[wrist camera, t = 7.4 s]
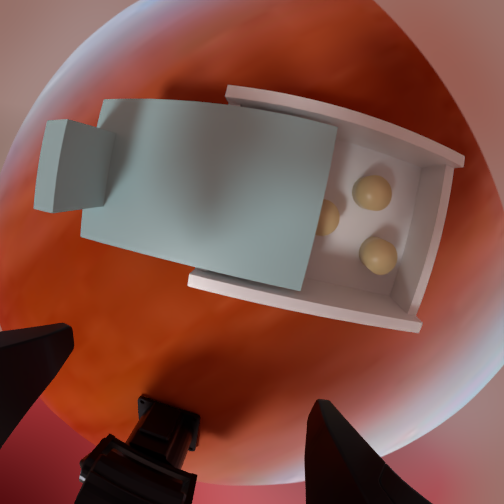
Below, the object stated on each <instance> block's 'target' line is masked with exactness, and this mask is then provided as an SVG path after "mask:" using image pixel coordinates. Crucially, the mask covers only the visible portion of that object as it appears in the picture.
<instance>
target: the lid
mask: <svg viewBox="0 0 504 504" xmlns="http://www.w3.org/2000/svg"><path fill="white" fill-rule="evenodd" d="M337 129H338V127H336V126H332V125H328V124H325V123H321V122H317V121H313V120H309V119H304V118H300V117H295V116H291V115H286V114H281V113H276V112H271V111H265V110H259V109H253V108H247V107H240V106H233V105H225V104H217V103H207V102H197V101H184V100H166V99H104V101H103V105H102V108H101V112H100V116H99V120H98V124H97V127H93V126H90V125H86V124H83V123H79V122H76V121H72V120H68V119H64V120H49V121H47V124H46V128H45V133H44V138H43V143H42V148H41V153H40V159H39V165H38V172H37V180H36V188H35V198H34V209H37V210H41V211H45V212H49V213H58V212H65V211H72V210H79V209H83V212H82V223H81V237H83V238H87V239H90V240H94V241H98V242H101V243H105V244H108V245H112V246H116V247H119V248H123V249H127V250H131V251H134V252H138V253H142V254H146V255H150V256H154V257H157V258H161V259H165V260H169V261H173V262H177V263H181V264H185V265H189V266H193V267H197V268H201V269H205V270H210V271H214V272H218V273H222V274H226V275H231V276H235V277H239V278H243V279H248V280H252V281H256V282H261V283H265V284H270V285H274V286H279V287H283V288H288V289H292V290H297V291H301V287H302V284H303V280H304V276H305V272H306V269H307V265H308V261H309V257H310V253H311V249H312V245H313V241H314V237H315V233H316V229H317V225H318V221H319V216H320V212H321V208H322V203H323V199H324V194H325V190H326V185H327V180H328V176H329V171H330V166H331V161H332V156H333V151H334V146H335V140H336V135H337Z"/></svg>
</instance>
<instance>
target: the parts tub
mask: <svg viewBox="0 0 504 504" xmlns="http://www.w3.org/2000/svg"><path fill="white" fill-rule="evenodd" d="M225 98H226V99H227V101H228V105H233V106H240V107H247V108H253V109H259V110H265V111H271V112H276V113H281V114H286V115H291V116H295V117H300V118H304V119H309V120H313V121H317V122H321V123H325V124H328V125H332V126H336V127H338V129H337V135H336V140H335V146H334V151H333V156H332V161H331V166H330V171H329V176H328V180H327V185H326V190H325V194H324V199H323V203H322V208H321V212H320V216H319V221H318V225H317V229H316V233H315V237H314V241H313V245H312V249H311V253H310V257H309V261H308V265H307V269H306V272H305V276H304V280H303V284H302V287H301V291H297V290H292V289H288V288H283V287H279V286H274V285H270V284H265V283H261V282H256V281H252V280H248V279H243V278H239V277H235V276H231V275H226V274H222V273H218V272H214V271H210V270H205V269H201V268H197V267H195V269H194V270H193V271H192V272H191V273H190V274H189V279H188V286H190V287H193V288H197V289H201V290H205V291H209V292H213V293H217V294H221V295H225V296H229V297H234V298H238V299H242V300H246V301H251V302H255V303H259V304H264V305H268V306H273V307H277V308H282V309H287V310H291V311H296V312H301V313H306V314H311V315H316V316H321V317H326V318H331V319H336V320H342V321H347V322H353V323H358V324H364V325H370V326H376V327H382V328H388V329H394V330H401V331H408V332H414V333H419V331H420V329H421V327H422V324H423V322H422V321H421V320H420V319H419V318H418V317H417V316H416V314H417V312H418V309H419V306H420V304H421V301H422V298H423V295H424V293H425V290H426V287H427V284H428V281H429V278H430V274H431V271H432V268H433V265H434V261H435V258H436V254H437V251H438V247H439V243H440V239H441V235H442V231H443V227H444V223H445V218H446V213H447V208H448V203H449V198H450V192H451V186H452V180H453V173H454V168H461V167H464V160H465V156H463V155H462V154H460V153H458V152H456V151H454V150H452V149H450V148H448V147H446V146H444V145H441V144H439V143H437V142H435V141H433V140H431V139H428V138H426V137H424V136H422V135H419V134H417V133H415V132H412V131H410V130H407V129H405V128H402V127H400V126H397V125H394V124H392V123H389V122H386V121H383V120H381V119H378V118H375V117H372V116H369V115H366V114H363V113H360V112H356V111H353V110H350V109H346V108H343V107H339V106H336V105H332V104H328V103H325V102H321V101H317V100H312V99H308V98H304V97H299V96H295V95H290V94H285V93H279V92H274V91H268V90H262V89H256V88H249V87H241V86H233V85H228V86H227V90H226V94H225Z"/></svg>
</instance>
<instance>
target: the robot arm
mask: <svg viewBox="0 0 504 504" xmlns="http://www.w3.org/2000/svg"><path fill="white" fill-rule="evenodd" d="M73 349H74V338H73V330H72V327H71V326H69V325H67V324H65V323H57V324H51V325H44V326H37V327H31V328H23V329H16V330H9V331H1V332H0V449H1V447H2V445H3V444H4V443H5V441H6V440H7V438H8V437H9V436H10V434H11V433H12V431H13V430H14V429H15V427H16V426H17V425H18V423H19V422H20V421H21V419H22V418H23V417H24V415H25V414H26V413H27V411H28V410H29V409H30V407H31V406H32V405H33V403H34V402H35V401H36V400H37V399H38V397H39V396H40V395H41V394H42V392H43V391H44V390H45V389H46V387H47V386H48V385H49V384H50V382H51V381H52V380H53V379H54V377H55V376H56V375H57V373H58V372H59V370H60V369H61V367H62V366H63V364H64V363H65V361H66V360H67V358H68V357H69V355H70V354H71V352H72V351H73ZM138 413H139V421H138V423H137V424H136V426H135V428H134V429H133V431H132V433H131V434H130V436H129V438H128V439H127V441H126V443H124V442H122V441H120V440H119V439H117V438H115V436H113V435H112V434H109V435H108V436H107V437H106V438H104V439H102V440H101V441H100V443H99V444H98V445H97V446H96V448H95V449H94V450H93V451H92V452H91V453H89V454H88V455H87V456H85V457H84V458H83V459H82V460H81V461H80V466H81V474H80V478H79V480H80V482H82V483H83V485H82V487H81V489H80V491H79V493H78V495H77V498H76V500H75V503H74V504H192V500H193V495H194V490H195V484H196V480H197V475H196V474H193V473H188V472H186V471H183V470H181V468H182V465H183V462H184V460H185V457H186V454H187V451H188V450H189V451H195V449H196V443H197V437H198V430H199V424H200V416H199V415H197V414H195V413H191V412H188V411H185V410H181V409H178V408H175V407H172V406H169V405H166V404H163V403H160V402H157V401H154V400H152V399H149V398H146V397H144V396H140V397H139V399H138ZM195 418H196V419H195ZM305 485H306V504H432V503H431V502H429V501H428V500H427V499H425V498H424V497H423V496H422V495H420V494H419V493H418V492H417V491H415V490H414V489H413V488H411V487H410V486H409V485H408V484H407V483H406V482H405V481H403V480H402V479H401V478H400V477H399V476H398V475H397V474H396V473H395V472H394V471H393V470H392V469H391V468H390V467H389V466H388V465H387V464H385V462H384V460H383V459H382V458H381V457H380V456H379V455H378V454H377V453H376V452H375V451H374V450H373V449H372V448H371V446H370V445H369V444H368V443H367V442H366V441H365V440H364V439H363V438H362V437H361V435H360V434H359V433H358V432H357V431H356V430H355V429H354V428H353V427H352V426H351V424H350V423H349V422H348V421H347V420H346V419H345V418H344V417H343V415H342V414H341V413H340V412H339V411H338V410H337V409H336V407H335V406H334V405H333V404H332V403H331V402H330V401H329V400H324V399H318V400H316V402H315V403H314V406H313V408H312V410H311V412H310V414H309V416H308V420H307V433H306V445H305Z"/></svg>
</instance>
